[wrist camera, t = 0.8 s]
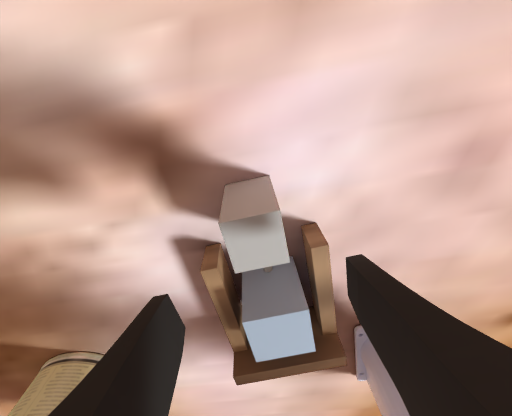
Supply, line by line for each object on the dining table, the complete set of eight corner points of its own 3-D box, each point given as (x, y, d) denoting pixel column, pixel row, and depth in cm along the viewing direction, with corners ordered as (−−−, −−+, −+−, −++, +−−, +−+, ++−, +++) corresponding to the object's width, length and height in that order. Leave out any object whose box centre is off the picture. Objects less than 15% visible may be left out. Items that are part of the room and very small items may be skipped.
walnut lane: (326, 312, 23) (346, 365, 19) (237, 330, 24) (236, 385, 19) (316, 222, 19) (339, 264, 14) (206, 246, 19) (194, 293, 15)
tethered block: (299, 293, 22) (315, 351, 17) (253, 302, 22) (256, 362, 17) (277, 173, 17) (291, 207, 12) (217, 186, 17) (207, 226, 12)
